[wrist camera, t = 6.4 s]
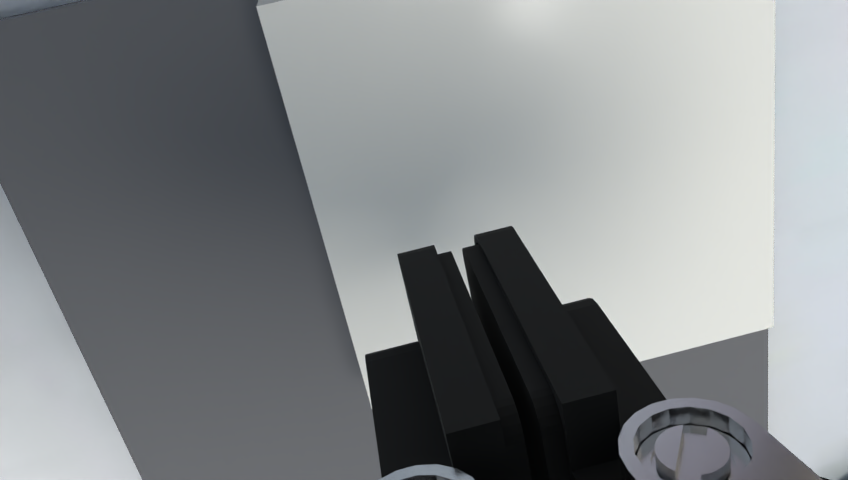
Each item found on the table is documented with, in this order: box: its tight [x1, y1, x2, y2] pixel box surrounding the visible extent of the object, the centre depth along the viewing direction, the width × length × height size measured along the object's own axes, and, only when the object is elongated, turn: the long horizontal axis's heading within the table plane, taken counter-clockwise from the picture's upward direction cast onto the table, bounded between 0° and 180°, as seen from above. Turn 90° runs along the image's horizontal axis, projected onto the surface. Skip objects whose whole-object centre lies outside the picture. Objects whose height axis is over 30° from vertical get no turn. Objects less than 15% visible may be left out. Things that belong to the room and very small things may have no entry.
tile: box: [256, 0, 775, 408], centre depth 16 cm, size 9×2×9 cm
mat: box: [0, 0, 768, 480], centre depth 18 cm, size 16×16×1 cm
